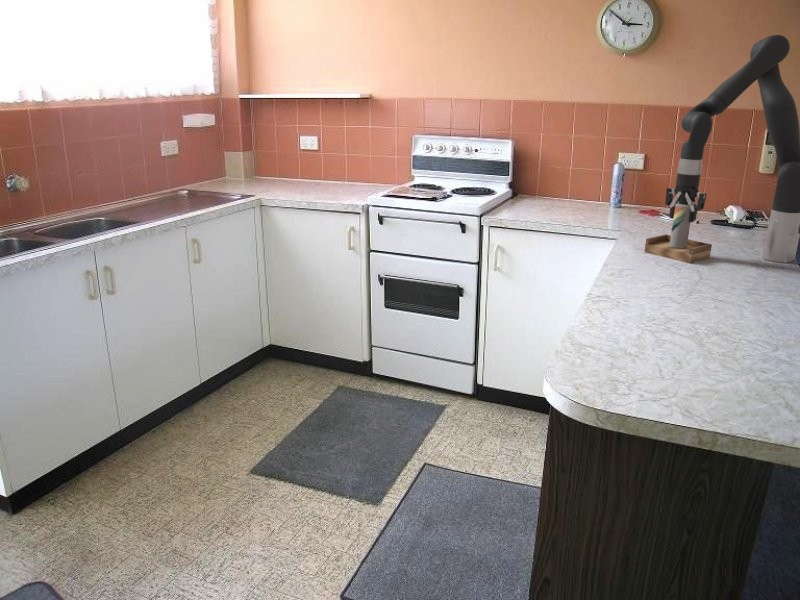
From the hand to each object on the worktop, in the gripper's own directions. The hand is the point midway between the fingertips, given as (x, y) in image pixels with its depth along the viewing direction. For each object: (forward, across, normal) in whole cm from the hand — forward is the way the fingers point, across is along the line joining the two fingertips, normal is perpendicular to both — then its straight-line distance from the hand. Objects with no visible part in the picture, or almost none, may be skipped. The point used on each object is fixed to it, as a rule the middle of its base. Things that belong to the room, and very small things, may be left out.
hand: (681, 219), depth 233 cm
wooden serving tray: (+13, 0, 0) cm, 13 cm away
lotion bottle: (+10, 0, 0) cm, 10 cm away
